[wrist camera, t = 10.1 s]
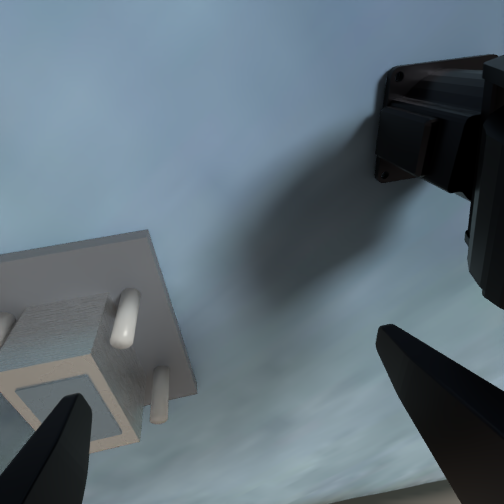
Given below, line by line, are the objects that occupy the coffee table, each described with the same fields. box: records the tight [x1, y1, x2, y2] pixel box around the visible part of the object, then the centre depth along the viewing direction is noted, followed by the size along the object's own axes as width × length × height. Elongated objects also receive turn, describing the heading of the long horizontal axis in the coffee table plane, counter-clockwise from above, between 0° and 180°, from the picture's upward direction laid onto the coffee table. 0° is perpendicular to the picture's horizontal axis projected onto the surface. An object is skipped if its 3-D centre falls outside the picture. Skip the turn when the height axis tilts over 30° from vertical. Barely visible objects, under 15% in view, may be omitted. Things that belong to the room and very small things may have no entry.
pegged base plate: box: [0, 230, 197, 424], centre depth 21 cm, size 12×16×5 cm
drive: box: [0, 292, 147, 454], centre depth 20 cm, size 5×9×5 cm, turn 5°
